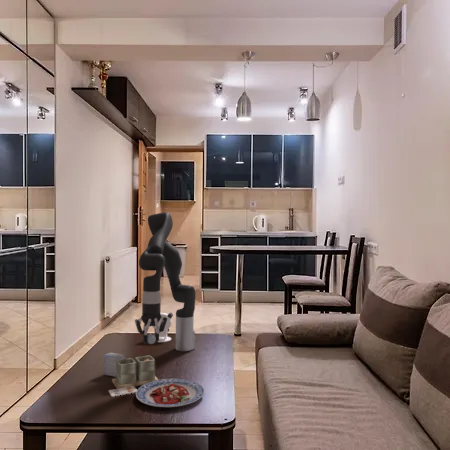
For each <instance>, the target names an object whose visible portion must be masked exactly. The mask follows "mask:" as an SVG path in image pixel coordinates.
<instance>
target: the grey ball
mask: <svg viewBox="0 0 450 450" xmlns="http://www.w3.org/2000/svg"><path fill="white" fill-rule="evenodd" d="M155 341H156V337H155V335H154V333H150V334H147V344H148V345H153V344H155Z"/></svg>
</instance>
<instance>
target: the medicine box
mask: <svg viewBox="0 0 450 450" xmlns="http://www.w3.org/2000/svg"><path fill="white" fill-rule="evenodd" d="M122 359H125V354H121V353H117V352H116V353H115V352H108V353H106V354H104V355H103V375H105V376H109V377H114V378H116V360H122Z"/></svg>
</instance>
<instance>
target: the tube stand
mask: <svg viewBox="0 0 450 450" xmlns="http://www.w3.org/2000/svg"><path fill="white" fill-rule="evenodd" d="M147 359H148V361H145V360H147ZM157 380H159V378H158V377H157V376H156V360H155V358H154V357H153V356H151V355H144V356H136V357H134V359H133V358H132V357H129V358H124V359H122V360H116V377H115V378H112V379H111V382H112V384H113V385H114V386H115V389H119V388H125V387H131V386H134V387H138V386H143V385H145V384H147V383H149V382H153V381H157Z"/></svg>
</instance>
